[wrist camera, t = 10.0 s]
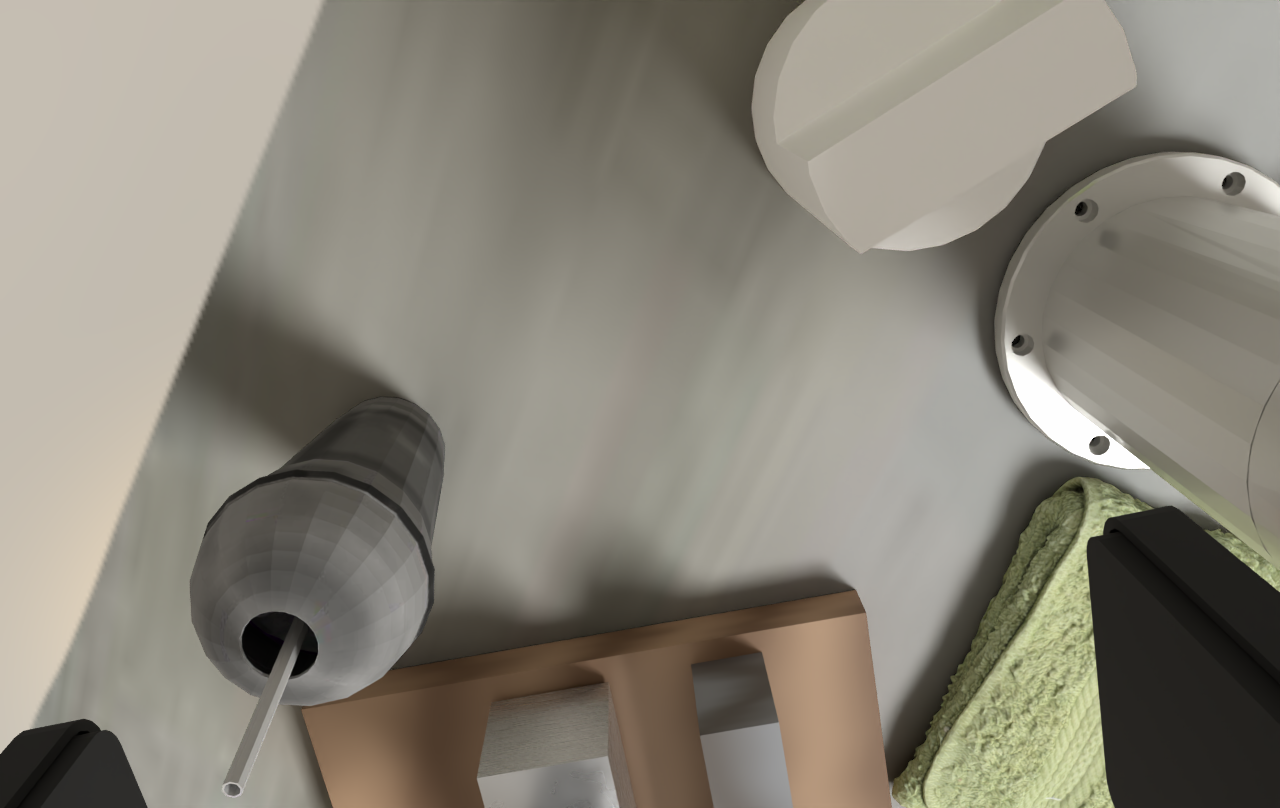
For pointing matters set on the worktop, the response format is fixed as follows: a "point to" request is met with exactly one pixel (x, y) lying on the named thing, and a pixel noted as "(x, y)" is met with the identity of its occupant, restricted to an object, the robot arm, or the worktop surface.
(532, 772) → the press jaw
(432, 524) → the beverage cup
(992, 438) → the worktop surface
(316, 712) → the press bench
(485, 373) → the worktop surface
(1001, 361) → the robot arm
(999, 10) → the base with upright slab
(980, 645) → the washcloth
